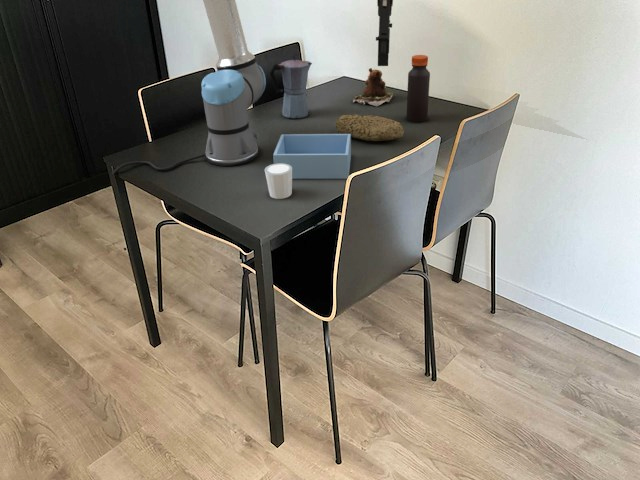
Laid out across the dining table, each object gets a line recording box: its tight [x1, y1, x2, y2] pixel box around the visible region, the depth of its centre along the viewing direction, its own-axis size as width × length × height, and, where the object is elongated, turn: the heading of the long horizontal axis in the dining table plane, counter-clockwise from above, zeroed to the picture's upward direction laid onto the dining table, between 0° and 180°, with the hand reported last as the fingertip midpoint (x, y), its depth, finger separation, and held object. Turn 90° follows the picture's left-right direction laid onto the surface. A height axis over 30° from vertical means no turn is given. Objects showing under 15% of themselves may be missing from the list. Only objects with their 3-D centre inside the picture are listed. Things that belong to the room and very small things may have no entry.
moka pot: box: [269, 54, 313, 119], centre depth 184 cm, size 10×15×20 cm, turn 124°
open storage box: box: [272, 133, 352, 180], centre depth 151 cm, size 20×15×7 cm
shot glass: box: [264, 163, 293, 200], centre depth 138 cm, size 7×7×7 cm
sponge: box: [334, 113, 405, 142], centre depth 167 cm, size 13×8×20 cm
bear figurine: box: [352, 67, 394, 107], centre depth 197 cm, size 14×15×12 cm
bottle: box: [405, 54, 431, 123], centre depth 176 cm, size 7×7×20 cm
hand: (383, 59), depth 151 cm, fingers open, 13 cm apart
